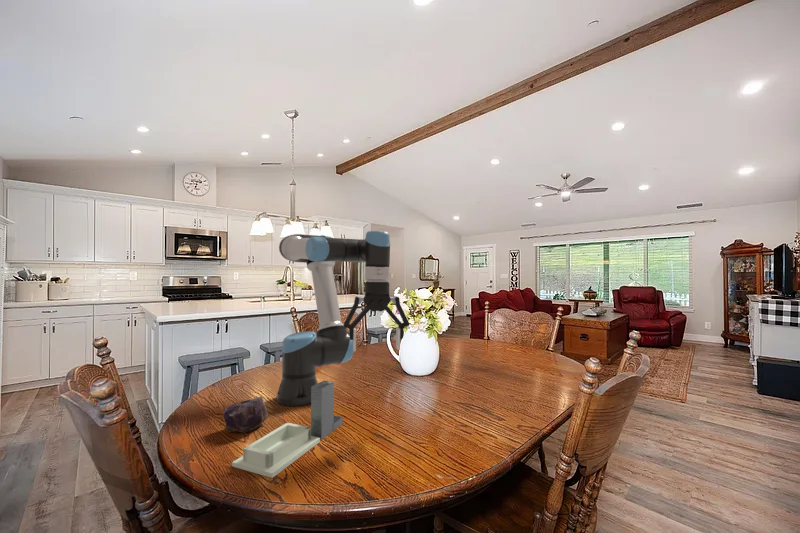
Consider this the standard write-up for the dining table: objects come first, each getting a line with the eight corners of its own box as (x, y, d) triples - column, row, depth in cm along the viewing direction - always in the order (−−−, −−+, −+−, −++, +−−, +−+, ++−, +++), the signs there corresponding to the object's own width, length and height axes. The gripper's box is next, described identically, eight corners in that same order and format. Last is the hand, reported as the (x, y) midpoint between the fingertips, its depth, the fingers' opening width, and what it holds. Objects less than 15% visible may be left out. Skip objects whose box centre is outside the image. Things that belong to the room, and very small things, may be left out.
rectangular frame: (232, 466, 82) (232, 449, 82) (284, 433, 99) (284, 419, 99) (272, 478, 78) (272, 459, 78) (320, 441, 94) (320, 426, 94)
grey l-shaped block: (310, 437, 97) (311, 386, 97) (332, 421, 107) (333, 375, 107) (321, 439, 95) (321, 388, 96) (342, 423, 106) (343, 377, 106)
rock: (226, 430, 103) (227, 444, 95) (221, 402, 103) (222, 413, 94) (267, 416, 109) (272, 428, 100) (263, 390, 109) (268, 399, 100)
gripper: (336, 281, 102) (335, 353, 102) (419, 281, 107) (418, 351, 107) (336, 280, 110) (335, 348, 109) (413, 280, 114) (412, 345, 114)
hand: (376, 349), depth 108 cm, fingers open, 13 cm apart
